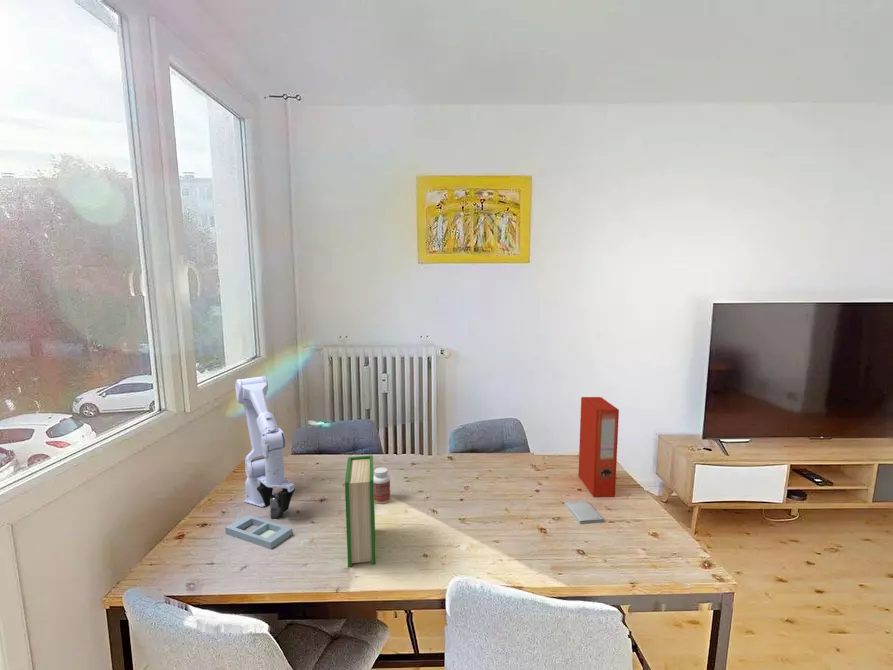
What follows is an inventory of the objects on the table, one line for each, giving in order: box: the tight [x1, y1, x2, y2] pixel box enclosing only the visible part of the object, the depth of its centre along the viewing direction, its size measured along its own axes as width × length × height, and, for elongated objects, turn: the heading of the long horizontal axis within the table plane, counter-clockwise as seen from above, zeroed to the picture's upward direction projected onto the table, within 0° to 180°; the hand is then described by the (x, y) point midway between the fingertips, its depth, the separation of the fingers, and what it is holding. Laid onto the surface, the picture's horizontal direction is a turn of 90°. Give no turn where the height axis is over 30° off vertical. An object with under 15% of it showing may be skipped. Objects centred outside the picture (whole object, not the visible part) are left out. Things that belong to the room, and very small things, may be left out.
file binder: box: [578, 396, 620, 498], centre depth 164 cm, size 8×17×32 cm, turn 1°
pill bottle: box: [373, 467, 391, 505], centre depth 156 cm, size 6×6×11 cm
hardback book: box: [344, 454, 377, 568], centre depth 127 cm, size 18×7×24 cm, turn 10°
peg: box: [269, 493, 285, 520], centre depth 146 cm, size 4×4×7 cm
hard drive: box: [564, 500, 605, 525], centre depth 147 cm, size 2×8×12 cm
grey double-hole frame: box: [225, 514, 294, 550], centre depth 136 cm, size 19×8×2 cm, turn 64°
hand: (276, 507), depth 146 cm, fingers open, 7 cm apart
